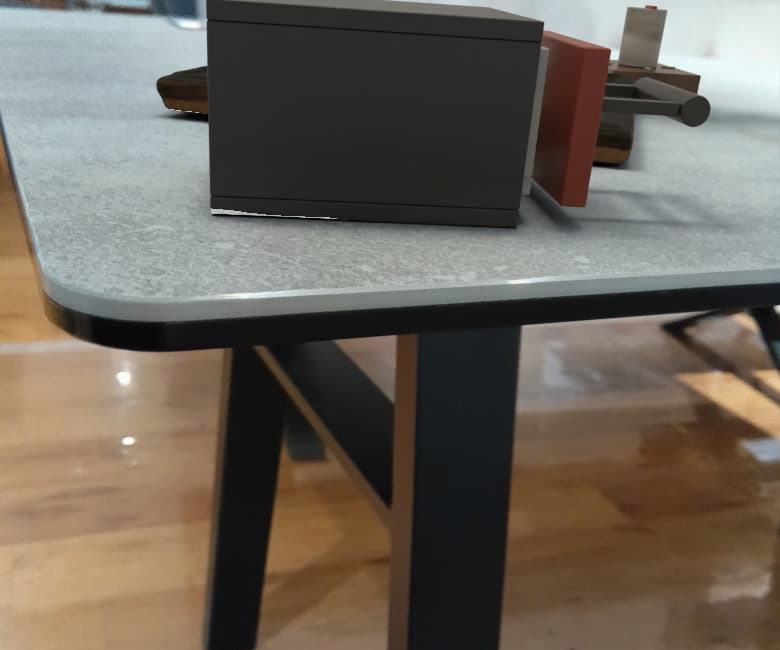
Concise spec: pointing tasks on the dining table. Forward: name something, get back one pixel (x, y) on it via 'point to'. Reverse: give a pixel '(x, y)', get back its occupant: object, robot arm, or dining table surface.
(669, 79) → the panel
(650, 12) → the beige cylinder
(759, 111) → the dining table surface
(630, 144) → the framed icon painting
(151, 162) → the dining table surface
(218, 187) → the dark grey lidded box
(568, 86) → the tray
